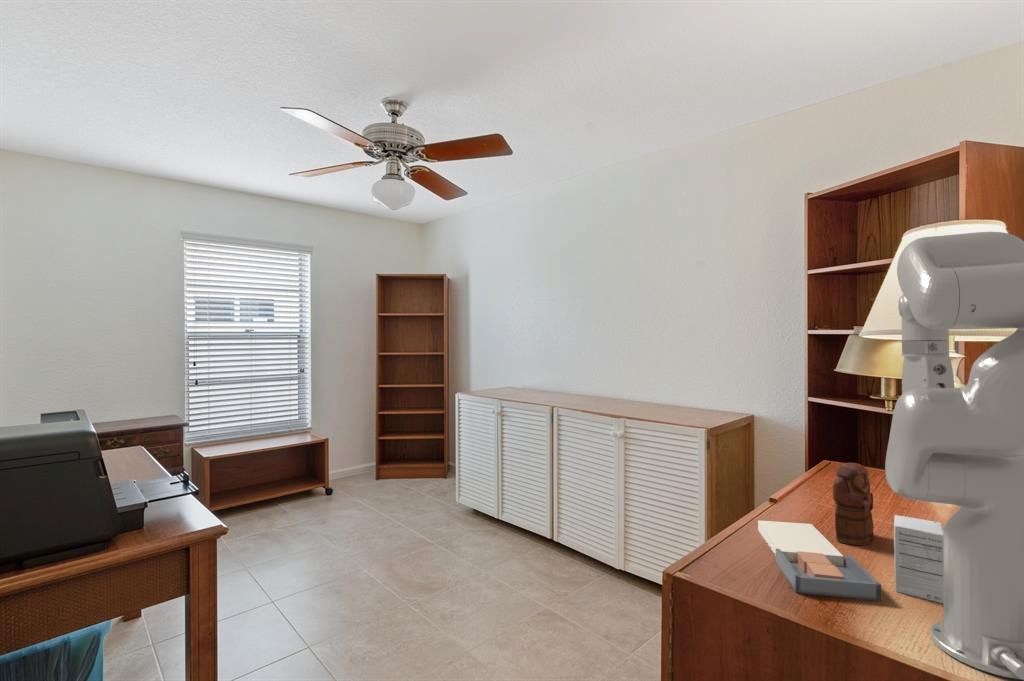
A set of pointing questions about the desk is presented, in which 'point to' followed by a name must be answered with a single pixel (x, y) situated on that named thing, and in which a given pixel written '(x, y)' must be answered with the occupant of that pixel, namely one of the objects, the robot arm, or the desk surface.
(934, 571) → the supplement box
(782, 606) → the desk surface
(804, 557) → the tile back
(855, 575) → the tray
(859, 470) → the wooden figurine
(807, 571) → the tile front
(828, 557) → the board
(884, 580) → the desk surface
